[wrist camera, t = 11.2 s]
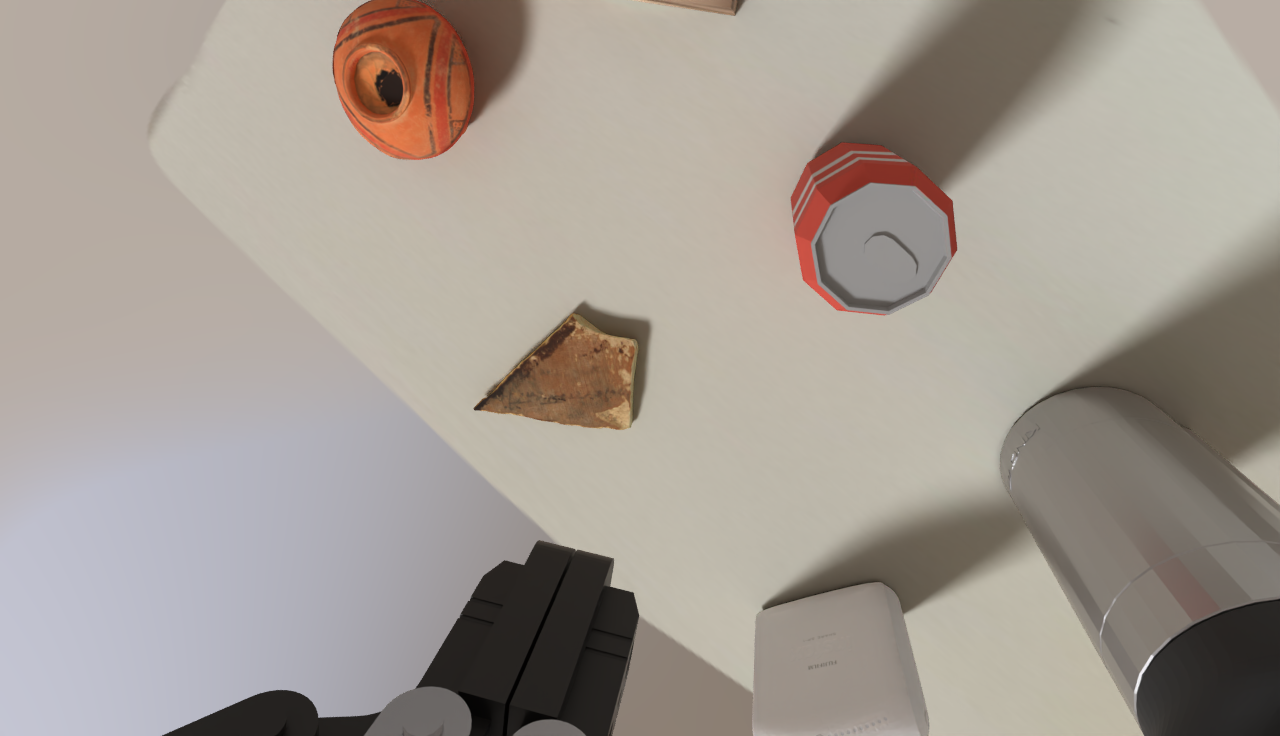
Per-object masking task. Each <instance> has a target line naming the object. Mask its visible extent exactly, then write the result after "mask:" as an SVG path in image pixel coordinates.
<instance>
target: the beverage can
mask: <svg viewBox="0 0 1280 736" xmlns="http://www.w3.org/2000/svg"><path fill="white" fill-rule="evenodd" d="M791 205H792V214H793V222H794V231H795V238H796V243H797V249H798V254H799V260H800V266H801V271H802V277H803V280H804V281H805V282H806V283H807V284H808V285H809V286H810V287H811V288H813V289H814V290H815V291H816V292H817V293H818V294H819V295H820V296H822V297H823V298H824V299H825V300H826V301H827V302H828V303H829V304H831V305H832V306H833V307H834V308H835V309H836V310H839V311H848V312H858V313H867V314H876V315H889V314H891V313H893V312H895V311H897V310H900V309H902V308H904V307H906V306H908V305H910V304H912V303H914V302H916V301H918V300H920V299H922V298H924V297H926V296H928V295H929V294H930V293H931V292H932V290H933V288H934V287H935V285H936V284H937V282H938V280H939V279H940V277H941V275H942V274H943V272H944V270H945V269H946V267H947V266H948V264H949V262H950V261H951V259H952V257H953V256H954V254H955V253H956V251H957V242H956V232H955V222H954V211H953V201H952V200H951V199H950V198H949V197H948V196H947V195H946V194H945V193H944V192H943V191H942V190H941V189H939V188H938V187H937V186H936V185H935V184H934V183H933V182H932V181H931V180H930V179H929V178H928V177H927V176H926V175H925V174H923V173H922V172H921V171H920V170H919V169H918V168H917V167H916V166H914V165H913V164H911V163H909V162H908V161H906V160H904V159H903V158H901V157H900V156H898V155H896V154H895V153H893V152H891V151H890V150H888V149H887V148H885V147H883V146H882V145H871V144H857V143H843V142H842V143H840V144H839V145H837V146H835V147H834V148H832V149H830V150H828V151H827V152H825V153H823V154H822V155H820V156H818V157H817V158H815V159H813V160H812V161H810V162H808V163H807V165H806V167H805V169H804V171H803V173H802V175H801V178H800V180H799V182H798V184H797V186H796V188H795V190H794V192H793V194H792V196H791Z"/></svg>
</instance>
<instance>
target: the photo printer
mask: <svg viewBox="0 0 1280 736" xmlns="http://www.w3.org/2000/svg"><path fill="white" fill-rule="evenodd" d="M928 734H929V717H928V712H927V708H926V704H925V699H924V695H923V691H922V687H921V683H920V679H919V675H918V671H917V667H916V663H915V660H914V656H913V652H912V648H911V644H910V640H909V636H908V632H907V628H906V624H905V620H904V616H903V612H902V609H901V605H900V601H899V598H898V596H897V595H896V593H895V592H894V591H893V590H892V589H891V588H889V587H888V586H886V585H884V584H883V583H882V582H874V583H866V584H861V585H856V586H851V587H847V588H842V589H838V590H834V591H830V592H826V593H822V594H818V595H814V596H810V597H806V598H802V599H799V600H796V601H792V602H788V603H784V604H781V605H778V606H774V607H771V608H768V609H766V610H763V611H761V612H759V613H758V614H757V616H756V621H755V649H754V685H753V736H928Z"/></svg>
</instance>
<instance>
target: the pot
mask: <svg viewBox="0 0 1280 736" xmlns="http://www.w3.org/2000/svg"><path fill="white" fill-rule="evenodd" d="M333 58H334V60H333V75H334V80H335V84H336V87H337V91H338V95H339V98H340V101H341V104H342V106H343V108H344V110H345V112H346V114H347V116H348V118H349V119H350V121H351V123H352V124H353V126H354V127H355V128H356V130H357V131H358V132H359V133H360V134H361V135H362V136H363V137H364V138H365V139H366V140H367V141H368V142H369V143H370V144H372V145H373V146H374V147H376V148H377V149H378V150H380V151H381V152H383V153H385V154H387V155H389V156H391V157H394V158H398V159H411V160H421V159H427V158H432V157H436V156H438V155H440V154H442V153H444V152H445V151H447V150H448V149H450V148H451V147H452V146H453V145H454V144H455V143H456V142H457V141H458V139H459V138H460V137H461V135H462V134H464V132H465V131H466V129H467V127H468V122H469V120H470V117H471V113H472V110H473V104H474V77H473V71H472V67H471V63H470V60H469V57H468V54H467V52H466V49H465V47H464V45H463V44H462V41H461V39H460V38H459V36H458V34H457V33H456V31H455V30H454V28H453V27H452V26H451V24H450V23H449V22H448V21H447V20H446V19H445V18H444V17H443V16H441V15H440V14H439V13H438V12H436V11H435V10H434V9H432V8H431V7H429V6H427V5H425V4H424V3H421V2H419V1H416V0H371V1H368V2H366V3H364V4H363V5H361V6H359V7H358V8H357V9H356V10H354V12H352V13H351V14H350V15H349V16H348V17H347V18H346V19H345V21H344V22H343V24H342V26H341V28H340V30H339V32H338V35H337V41H336V44H335V47H334V51H333Z"/></svg>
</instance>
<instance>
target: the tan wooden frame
mask: <svg viewBox="0 0 1280 736" xmlns="http://www.w3.org/2000/svg"><path fill="white" fill-rule="evenodd" d="M634 1H641V2H648V3H654V4H661V5H667V6H674V7H681V8H687V9H694V10H700V11H707V12H714V13H720V14H727V15H733V16H735V12H736V7H737V1H738V0H634Z"/></svg>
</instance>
